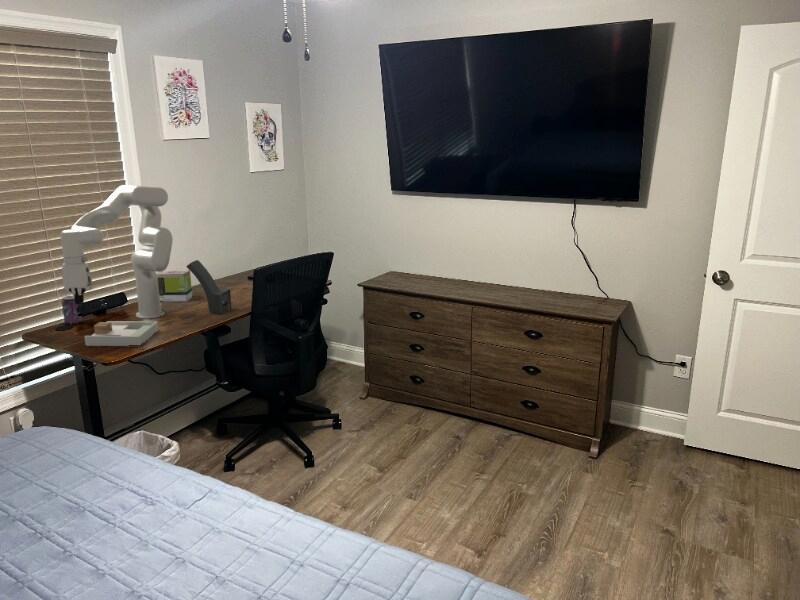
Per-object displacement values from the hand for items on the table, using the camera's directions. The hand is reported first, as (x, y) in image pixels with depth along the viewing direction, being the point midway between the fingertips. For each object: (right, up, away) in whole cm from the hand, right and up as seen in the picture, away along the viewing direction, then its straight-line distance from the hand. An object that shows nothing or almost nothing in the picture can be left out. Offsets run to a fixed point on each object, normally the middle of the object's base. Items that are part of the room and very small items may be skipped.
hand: (79, 303), depth 250 cm
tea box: (+16, +2, +62) cm, 65 cm away
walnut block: (+8, -12, +4) cm, 15 cm away
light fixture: (+41, -4, +44) cm, 60 cm away
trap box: (+16, -14, +5) cm, 22 cm away
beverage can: (-15, -9, +24) cm, 29 cm away
